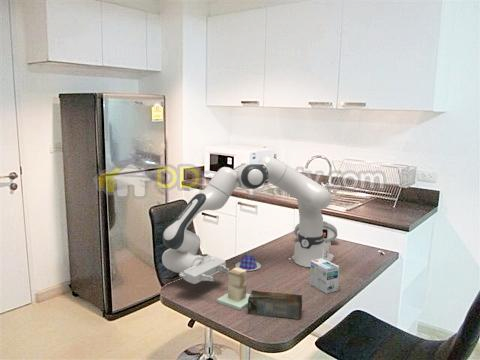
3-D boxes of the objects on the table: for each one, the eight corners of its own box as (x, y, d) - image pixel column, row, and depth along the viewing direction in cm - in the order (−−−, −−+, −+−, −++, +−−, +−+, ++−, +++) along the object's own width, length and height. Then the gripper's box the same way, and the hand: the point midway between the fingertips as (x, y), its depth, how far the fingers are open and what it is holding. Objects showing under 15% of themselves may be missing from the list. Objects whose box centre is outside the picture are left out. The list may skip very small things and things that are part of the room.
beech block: (235, 293, 159) (235, 267, 157) (246, 297, 156) (246, 270, 154) (228, 298, 155) (228, 271, 153) (238, 302, 152) (239, 274, 150)
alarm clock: (293, 243, 223) (294, 220, 220) (294, 239, 229) (295, 217, 226) (336, 246, 218) (338, 223, 216) (336, 242, 224) (337, 220, 222)
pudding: (263, 264, 193) (264, 253, 192) (256, 273, 182) (257, 262, 181) (239, 260, 197) (240, 250, 196) (231, 270, 186) (231, 259, 185)
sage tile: (234, 291, 163) (234, 289, 163) (256, 299, 157) (257, 296, 157) (217, 302, 154) (217, 299, 154) (240, 310, 148) (240, 307, 148)
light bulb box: (338, 290, 165) (340, 265, 163) (326, 294, 162) (327, 269, 160) (321, 281, 174) (322, 257, 172) (309, 284, 171) (310, 260, 169)
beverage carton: (251, 304, 154) (251, 287, 152) (302, 310, 150) (303, 293, 148) (247, 314, 146) (247, 297, 145) (300, 320, 142) (301, 303, 141)
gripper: (176, 267, 157) (203, 276, 149) (209, 252, 173) (235, 259, 166) (176, 282, 158) (203, 292, 150) (209, 266, 174) (235, 274, 167)
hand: (220, 275), depth 158 cm, fingers open, 8 cm apart
